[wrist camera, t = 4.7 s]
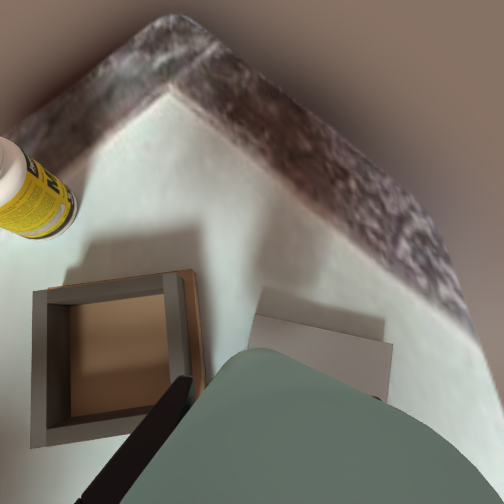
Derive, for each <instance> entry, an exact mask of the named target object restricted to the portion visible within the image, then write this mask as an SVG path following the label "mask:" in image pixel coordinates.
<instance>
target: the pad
mask: <svg viewBox="0 0 504 504" xmlns="http://www.w3.org/2000/svg"><path fill="white" fill-rule="evenodd" d="M251 348H268V349H272V350H275V351H277V352H280V353H282V354H284V355H286V356H288V357H290V358H292V359H294V360H296V361H299V362H301V363H303V364H305V365H307V366H309V367H311V368H313V369H315V370H317V371H319V372H322V373H324V374H326V375H328V376H330V377H332V378H334V379H336V380H338V381H340V382H342V383H345V384H347V385H349V386H351V387H353V388H355V389H357V390H359V391H361V392H363V393H365V394H368V395H370V396H377V397H379V398H380V399H381V400H382V402H384V403H386V404H387V396H388V387H389V378H390V369H391V360H392V350H393V344H390V343H385V342H381V341H376V340H372V339H367V338H362V337H358V336H353V335H349V334H344V333H340V332H335V331H331V330H326V329H321V328H317V327H312V326H308V325H303V324H299V323H294V322H290V321H285V320H280V319H276V318H271V317H267V316H262V315H258V314H255V316H254V321H253V325H252V330H251V335H250V340H249V344H248V349H251Z"/></svg>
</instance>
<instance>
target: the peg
mask: <svg viewBox="0 0 504 504" xmlns="http://www.w3.org/2000/svg"><path fill="white" fill-rule="evenodd" d="M120 504H504V502H503V501H502V499H501V498H500V496H499V495H498V493H497V492H496V491H495V490H494V488H493V487H492V486H491V485H490V484H489V482H488V481H487V480H486V479H485V478H484V477H483V475H482V474H481V473H480V472H479V471H478V469H477V468H476V467H475V466H474V465H473V464H472V463H471V462H470V461H469V460H468V459H467V458H466V457H465V456H464V455H463V454H461V453H460V452H459V451H458V450H457V449H456V448H455V447H454V446H453V445H452V444H451V443H449V442H448V441H447V440H446V439H444V438H443V437H442V436H440V435H439V434H438V433H436V432H435V431H434V430H432V429H431V428H430V427H428V426H427V425H425V424H423V423H422V422H420V421H418V420H417V419H415V418H413V417H411V416H410V415H408V414H406V413H404V412H403V411H401V410H399V409H397V408H395V407H393V406H390V405H388V404H386V403H384V402H382V401H380V400H378V399H376V398H374V397H372V396H370V395H368V394H365V393H363V392H361V391H359V390H357V389H355V388H353V387H351V386H349V385H347V384H345V383H342V382H340V381H338V380H336V379H334V378H332V377H330V376H328V375H326V374H324V373H322V372H319V371H317V370H315V369H313V368H311V367H309V366H307V365H305V364H303V363H301V362H299V361H296V360H294V359H292V358H290V357H288V356H286V355H284V354H282V353H280V352H277V351H275V350H272V349H268V348H251V349H247V350H244V351H241V352H239V353H237V354H236V355H234V356H232V357H231V358H230V359H229V360H228V361H227V362H226V363H225V364H224V365H223V366H222V367H221V369H220V370H219V371H218V373H217V374H216V375H215V377H214V378H213V379H212V381H211V382H210V383H209V385H208V386H207V387H206V389H205V390H204V391H203V393H202V394H201V395H200V397H199V398H198V399H197V400H196V402H195V403H194V404H193V406H192V407H191V408H190V410H189V411H188V412H187V414H186V415H185V416H184V418H183V419H182V420H181V422H180V423H179V424H178V426H177V427H176V428H175V430H174V431H173V432H172V434H171V435H170V436H169V437H168V439H167V440H166V441H165V443H164V444H163V445H162V447H161V448H160V449H159V451H158V452H157V453H156V455H155V456H154V457H153V459H152V460H151V461H150V463H149V464H148V465H147V467H146V468H145V469H144V471H143V472H142V473H141V475H140V476H139V477H138V479H137V480H136V481H135V483H134V484H133V485H132V487H131V488H130V489H129V491H128V492H127V494H126V495H125V496H124V498H123V499H122V500H121V502H120Z"/></svg>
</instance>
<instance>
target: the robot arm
mask: <svg viewBox="0 0 504 504" xmlns="http://www.w3.org/2000/svg"><path fill="white" fill-rule="evenodd" d="M372 397H374V398H376V399H378V400H380V401H382V400H381V399H380V398H379V397H377V396H372ZM193 401H194V377H193V376H188V375H179V376H178V377H177V378H176V379H175V380H174V382H173V383H172V384H171V385H170V386H169V388H168V389H167V390H166V391H165V393H164V394H163V395H162V396H161V398H160V399H159V400H158V401H157V402H156V404H155V405H154V406H153V407H152V409H151V410H150V411H149V412H148V414H147V415H146V416H145V417H144V418H143V420H142V421H141V422H140V423H139V425H138V426H137V427H136V428H135V430H134V431H133V432H132V433H131V434H130V436H129V437H128V438H127V439H126V441H125V442H124V443H123V444H122V446H121V447H120V448H119V449H118V450H117V452H116V453H115V454H114V455H113V457H112V458H111V459H110V460H109V462H108V463H107V464H106V465H105V466H104V468H103V469H102V470H101V471H100V473H99V474H98V475H97V476H96V478H95V479H94V480H93V481H92V482H91V484H90V485H89V486H88V487H87V489H86V490H85V491H84V492H83V494H82V495H81V498H79V499H77V501H76V502H75V503H74V504H120V502H121V500H122V499H123V498H124V496H125V495H126V494H127V492H128V491H129V489H130V488H131V487H132V485H133V484H134V483H135V481H136V480H137V479H138V477H139V476H140V475H141V473H142V472H143V471H144V469H145V468H146V467H147V465H148V464H149V463H150V461H151V460H152V459H153V457H154V456H155V455H156V453H157V452H158V451H159V449H160V448H161V447H162V445H163V444H164V443H165V441H166V440H167V439H168V437H169V436H170V435H171V434H172V432H173V431H174V430H175V428H176V427H177V426H178V424H179V423H180V422H181V420H182V419H183V418H184V416H185V415H186V414H187V412H188V411H189V410H190V408H191V407H192V406H193Z"/></svg>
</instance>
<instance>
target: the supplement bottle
mask: <svg viewBox="0 0 504 504" xmlns="http://www.w3.org/2000/svg"><path fill="white" fill-rule="evenodd" d="M76 211H77V203H76V199H75V196H74V194H73V193H72V191H71V190H70V189H69V188H68V187H67V186H66V185H65V184H64V183H63V182H61V181H60V180H59V179H57V178H56V177H55V176H54V175H53V174H51V173H50V172H49V171H48V170H46V169H45V168H44V167H43V166H42V165H40V164H39V163H38V162H37V161H35V160H34V159H33V158H32V157H30V156H29V155H28V154H27V153H25V152H24V151H23V150H22V149H21V148H20V147H18V146H17V145H15V144H14V143H13V142H11V141H9V140H7V139H5V138H3V137H0V227H2V228H4V229H6V230H8V231H11V232H13V233H15V234H17V235H20V236H22V237H25V238H27V239H30V240H35V241H45V240H50V239H53V238H55V237H57V236H59V235H61V234H62V233H63V232H65V231H66V230H67V229H68V228H69V226H70V225H71V224H72V222H73V220H74V218H75V215H76Z"/></svg>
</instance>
